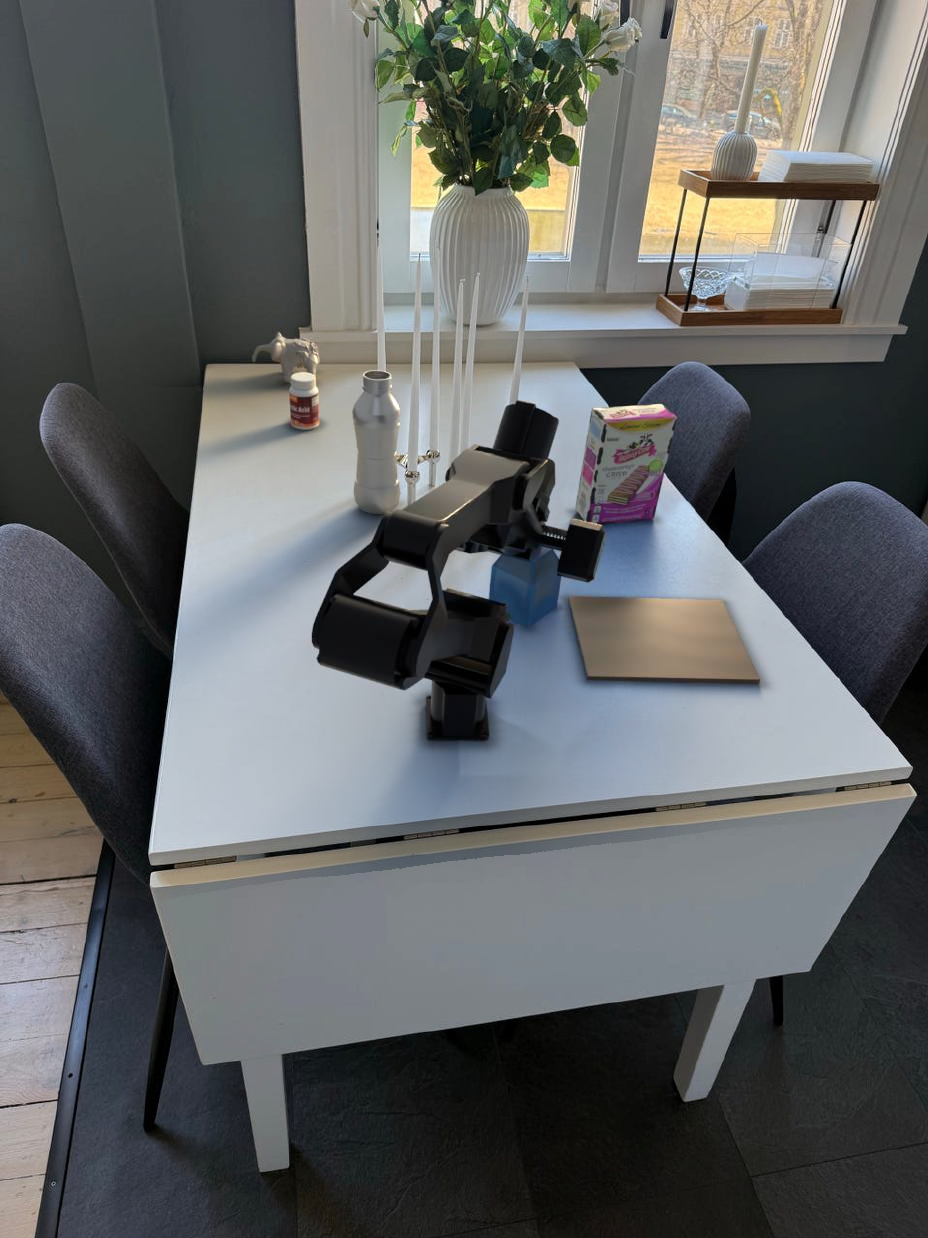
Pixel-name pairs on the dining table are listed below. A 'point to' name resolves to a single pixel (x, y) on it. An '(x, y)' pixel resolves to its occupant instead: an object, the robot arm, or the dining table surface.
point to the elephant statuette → (291, 354)
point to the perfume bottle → (527, 585)
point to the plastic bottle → (376, 444)
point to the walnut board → (659, 640)
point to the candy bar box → (624, 463)
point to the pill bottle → (304, 401)
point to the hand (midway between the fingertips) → (528, 554)
